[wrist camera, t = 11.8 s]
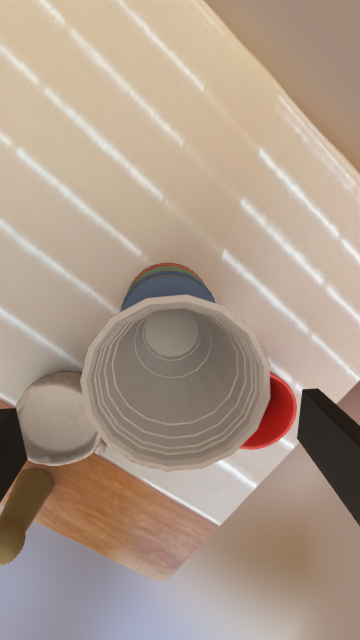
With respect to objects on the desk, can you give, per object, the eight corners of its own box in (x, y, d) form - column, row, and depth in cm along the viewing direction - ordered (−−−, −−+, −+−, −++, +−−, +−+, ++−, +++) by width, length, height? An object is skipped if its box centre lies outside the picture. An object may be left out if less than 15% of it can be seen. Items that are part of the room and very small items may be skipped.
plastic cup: (178, 249, 24) (193, 250, 12) (245, 335, 27) (308, 401, 15) (91, 322, 25) (31, 384, 14) (163, 397, 28) (163, 502, 16)
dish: (12, 431, 41) (-8, 455, 36) (33, 354, 38) (14, 370, 33) (101, 454, 43) (94, 480, 39) (128, 383, 40) (123, 402, 36)
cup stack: (124, 264, 36) (105, 271, 24) (208, 261, 36) (229, 267, 25) (130, 343, 39) (116, 384, 27) (207, 340, 39) (226, 378, 28)
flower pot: (257, 334, 40) (287, 360, 30) (273, 394, 43) (305, 435, 33) (191, 356, 40) (200, 389, 30) (212, 414, 43) (225, 461, 33)
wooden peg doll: (29, 462, 43) (-14, 532, 32) (61, 480, 44) (29, 553, 34) (9, 486, 44) (-39, 561, 33) (41, 503, 45) (3, 580, 35)
